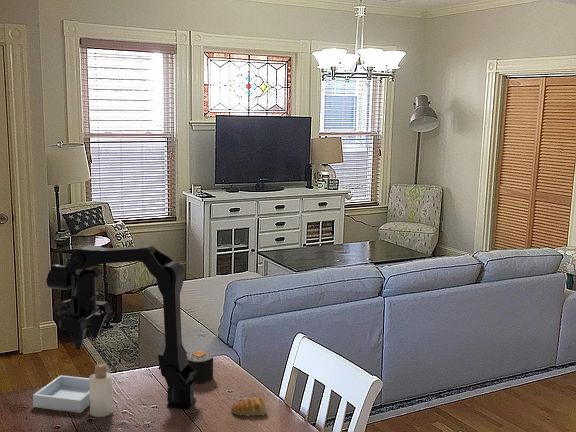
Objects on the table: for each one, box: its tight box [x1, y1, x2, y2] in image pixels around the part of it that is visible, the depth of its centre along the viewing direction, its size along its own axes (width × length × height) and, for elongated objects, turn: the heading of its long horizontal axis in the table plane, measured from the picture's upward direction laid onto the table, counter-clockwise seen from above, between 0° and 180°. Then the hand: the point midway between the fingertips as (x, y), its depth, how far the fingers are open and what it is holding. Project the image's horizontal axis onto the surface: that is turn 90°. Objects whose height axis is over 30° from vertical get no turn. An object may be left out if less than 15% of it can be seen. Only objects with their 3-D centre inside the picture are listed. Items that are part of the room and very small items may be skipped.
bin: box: [32, 374, 90, 414], centre depth 182 cm, size 14×14×4 cm
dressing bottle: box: [88, 363, 114, 418], centre depth 174 cm, size 6×6×13 cm
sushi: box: [186, 350, 214, 384], centre depth 198 cm, size 8×8×8 cm
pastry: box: [230, 396, 267, 416], centre depth 177 cm, size 9×7×4 cm
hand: (86, 344), depth 184 cm, fingers open, 9 cm apart
